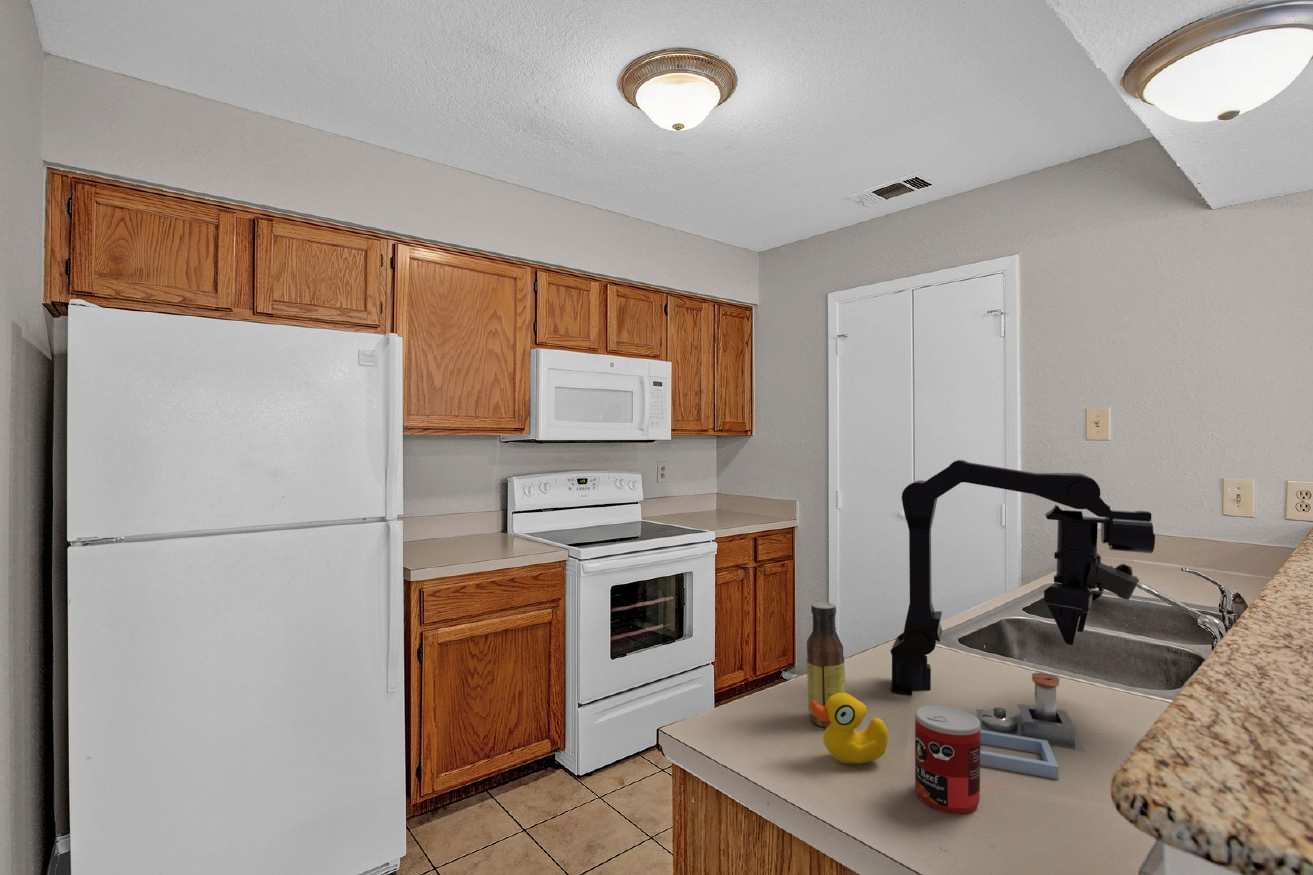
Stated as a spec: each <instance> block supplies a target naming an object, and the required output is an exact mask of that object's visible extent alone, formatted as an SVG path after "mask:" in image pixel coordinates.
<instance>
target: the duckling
mask: <svg viewBox="0 0 1313 875" xmlns="http://www.w3.org/2000/svg"><path fill="white" fill-rule="evenodd" d="M810 708H811V711H812V713H813V715H814V716H815V717H816V718H818V719H819V720H821V721H829V720H830V722H831V724H830V725H829V726H828V727H827V728H825V730H824V732H823V735H822V736H823V737H822V739H823V743H824V747H825V748H826V749H827V751H828V752H829V754H831V756H832V757H833V758H835V759H836V760H837V761H838V762H840V763H843V764H847V765H849V764H850V765H851V764H852V765H854V764H855V765H856V764H857V765H858V764H861V765H862V764H867V763H871V762H873V761H875V760H879V758H881V757H882V756H883V755H884V754H885V753H886V751H887V748H888V742H889V730H888V728H887V726H886V724H885V722H884V721H883V720H882V719H881V718H878V717H873V718H872V719H871V720H870V721H869V723H868V727H867V728H865V729H863V730H859V731H856V730H855V729H857V728H859V726H860V725H861V724H862V722H863V720H864V718H865V717H866V716H867V709H868V708H867V706H866V705H865V703H863V702H862V701H860V700H858V699H857V698H856V697H854V696H853V695H852V694H849V693H847V692H845V693H836V694H834V695H832V696H830V697H829V698H828V700H827V702H826V707H825V706H821V705H818V704H817V703H816V702H815V701H814V700H812V701H811V703H810Z"/></svg>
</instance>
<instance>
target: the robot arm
mask: <svg viewBox="0 0 1313 875" xmlns="http://www.w3.org/2000/svg"><path fill="white" fill-rule="evenodd" d="M961 483H965V484H966V483H968V484H973V485H978V486H984V487H989V488H990V487H991V488H996V489H1002V490H1007V491H1013V492H1019V493H1025V494H1029V495H1035V496H1037V497H1041V498H1043V499H1046V500H1049V501H1052V502H1054V503H1057V504H1055V505H1054V506H1053V507H1052V508H1051V510H1050V511H1047V512H1046V513H1045V514H1044V516H1045V518H1046V519H1047V520H1048V521H1049V520H1051V521H1057V534H1056V535H1057V537H1056V538H1057V542H1056V543H1057V544H1056V545H1057V546H1056V547H1057V548H1056V551H1054V554H1053V555H1054V556H1053V558H1054V559H1056V574H1055V575H1054V576H1053V583H1052V584H1051V585H1049V586H1048V587H1046V588H1045V589H1044V590H1043V602H1044V603H1045V604H1046V607H1048V610H1049V611H1050V613H1051V615H1052V617H1053V619H1054V621H1055V623H1056V626H1057V627H1058V628H1057V629H1058V630H1059V632H1060V634H1061V637H1062V639H1063V641H1064V644H1066V645H1070V646H1073V645H1074V644H1075V640H1076V636H1077V632H1078V633H1083V632H1084V631H1085V626H1086V624H1087V619H1088V616H1089V613H1090V610H1091V609H1092V604H1093V602H1095V601H1096V600H1098V599H1099V598H1101V596H1103V594H1104V591H1108V592H1110V593H1112V594H1115V595H1117V597H1118V598H1121V599H1123V600H1127V601H1129V600H1130V599H1131V597H1132V595H1133V593H1134V591H1135V590H1136V587H1137V586H1138V584H1139V582H1140V579H1139V578H1138V576H1136V575H1135V576H1134V574H1133V567H1132V566H1130V565H1129V564H1128V565H1127V564H1125V563H1120V564H1119V565H1118V566H1115V567H1113V566H1112V565H1108V564H1105V563H1102V556H1101V555H1100V553H1098V531H1099V530H1098V528H1099V527H1098V526H1099V525H1098V524H1100V540H1101V543H1102V544H1107V546H1108V549H1109V551H1119V552H1128V553H1129V552H1131V553H1141V554H1142V553H1143V554H1153V553H1154V551H1155V550H1154V549H1155V544H1156V533H1154V525H1153V520H1152V513H1151V512H1150V511H1147V510H1137V511H1128V510H1112V509H1111V506H1110V505H1109V504H1107V503H1106V502H1105V501H1104V500H1103V499H1102V498H1101V488H1100V485H1099V484H1098V483H1097V481H1096V480H1094V479H1093V478H1092V477H1090V476H1088V475H1085V474H1083V473H1080V472H1079V473H1078V472H1077V473H1076V472H1047V473H1046V472H1037V473H1036V472H1032V471H1031V472H1030V471H1025V470H1018V469H1013V468H1012V469H1011V468H1005V467H1000V466H994V465H988V464H987V465H986V464H982V463H981V464H980V463H976V462H975V463H974V462H969V461H967V460H963V459H957V460H955V461H954V460H953V462H951V463H950V464H949V466H947V467H946V468H944V469H942V470H941V471H939V472H938V473H936V474H935V475H933V476H931V477H930V478H928V479H927V480H922V479H921V480H915V481H913V482H911V483H909V484H908V485H907V486H906V487H905V488H904V489H903V491H902V493H901V503H902V507H903V514H904V518H905V521H906V524H907V528H908V536H909V538H908V542H909V543H908V544H909V546H908V547H909V548H908V552H909V555H908V556H909V558H908V560H909V561H908V562H909V563H908V564H909V566H908V568H909V605H908V609H907V614H906V618H905V623H904V628H903V632H902V633H900V634H899V635H898V636H897V637H896V638H895V640H894V642H893V644H892V647H891V649H890V655H891V682H890V692H891V693H897V694H898V693H899V694H905V695H913V692H920V691H921V692H922V691H926V692H927V691H931V688H932V684H931V682H932V680H931V679H932V678H931V677H932V668H931V667H932V666H931V664H930V663H928V655H930V654H931V653H932V652H933V651H935V648H936V645H937V642H938V643H940V642H941V639H942V635H943V629H942V625H941V619H942V616H943V611H941V610H940V611H935V608H934V604H933V600H932V599H933V598H932V597H933V596H932V526H933V522H934V518H935V513H936V508H937V502H938V498H939V497H941V496H943V495H944V494H945V493H947V492H950V490H952V489H953V488H955V487H957V486H958V485H960V484H961ZM1058 504H1060V505H1063V506H1066V507H1069V508H1072V509H1076V510H1067V509H1062V508H1060V507H1059V505H1058ZM1080 510H1082V511H1080ZM1083 510H1086V511H1089V512H1091V513H1092V514H1094V515H1095V516H1096V517H1092V516H1091V517H1090V516H1084V515H1083V514H1084V513H1083ZM1096 589H1098V590H1096Z"/></svg>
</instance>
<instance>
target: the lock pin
mask: <svg viewBox="0 0 1313 875" xmlns="http://www.w3.org/2000/svg"><path fill="white" fill-rule="evenodd" d="M1031 681H1032V683H1034V702H1033V703H1034V705H1033V706H1034V719H1035V720H1041V721H1048V722H1055V723H1056V709H1057V687H1059V686H1060V678H1059V677H1058V676H1056V675H1052V674H1050V673H1044V672H1033V673H1032V674H1031Z"/></svg>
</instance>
